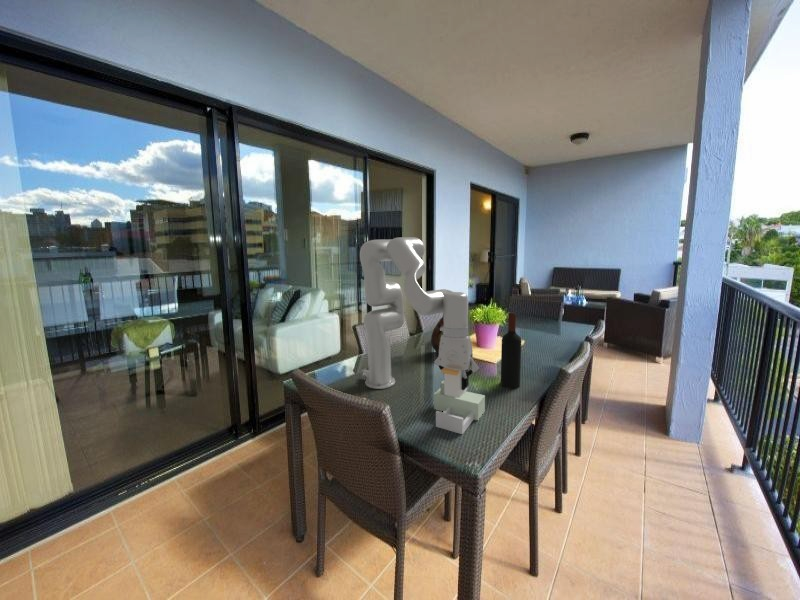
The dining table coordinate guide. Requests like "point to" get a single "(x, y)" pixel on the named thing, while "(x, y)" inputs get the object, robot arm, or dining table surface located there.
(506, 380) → the wine bottle
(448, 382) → the orange-topped white box
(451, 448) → the dining table surface
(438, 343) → the ceramic jug
